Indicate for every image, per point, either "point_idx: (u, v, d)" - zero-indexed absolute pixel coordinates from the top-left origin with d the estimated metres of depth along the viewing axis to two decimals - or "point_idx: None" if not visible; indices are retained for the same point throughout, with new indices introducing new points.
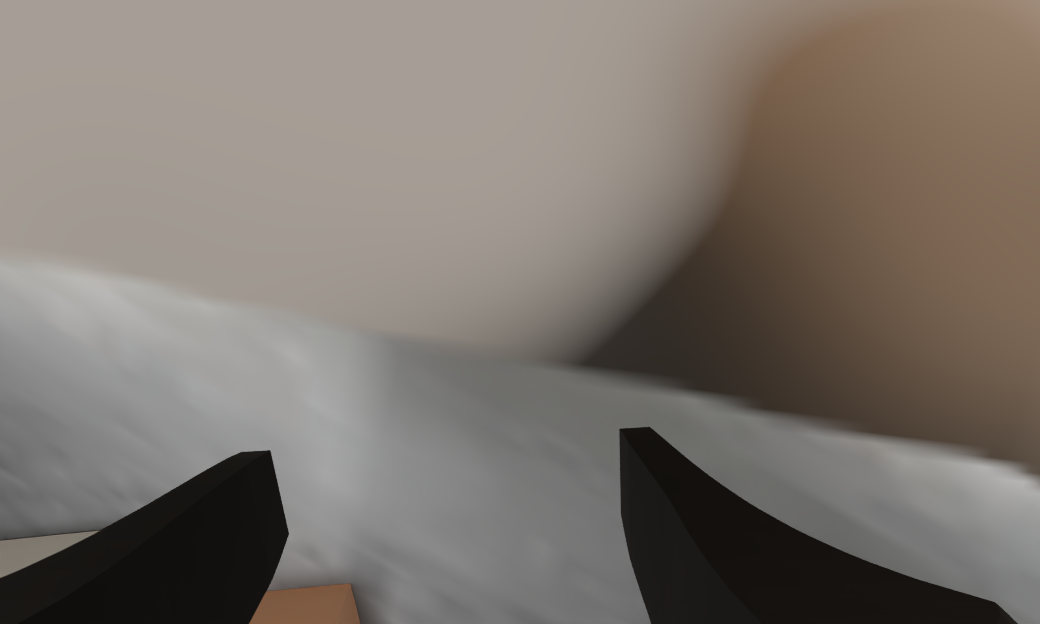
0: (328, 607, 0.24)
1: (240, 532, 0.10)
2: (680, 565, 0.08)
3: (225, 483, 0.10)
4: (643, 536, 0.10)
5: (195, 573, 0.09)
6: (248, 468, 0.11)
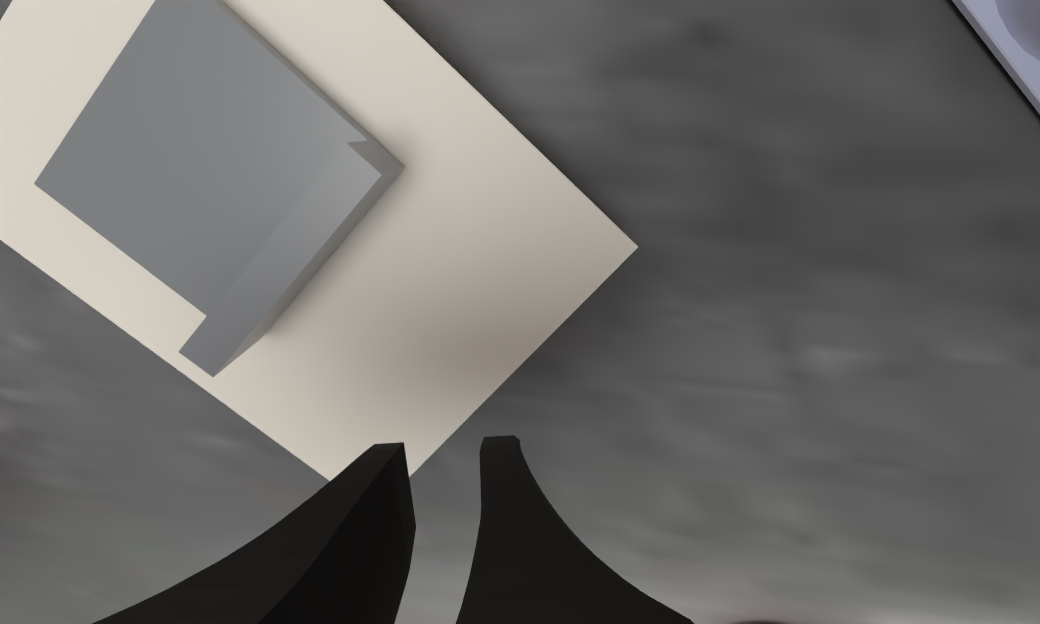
0: None
1: (390, 523, 0.10)
2: None
3: (380, 474, 0.10)
4: None
5: (365, 563, 0.09)
6: (393, 459, 0.11)
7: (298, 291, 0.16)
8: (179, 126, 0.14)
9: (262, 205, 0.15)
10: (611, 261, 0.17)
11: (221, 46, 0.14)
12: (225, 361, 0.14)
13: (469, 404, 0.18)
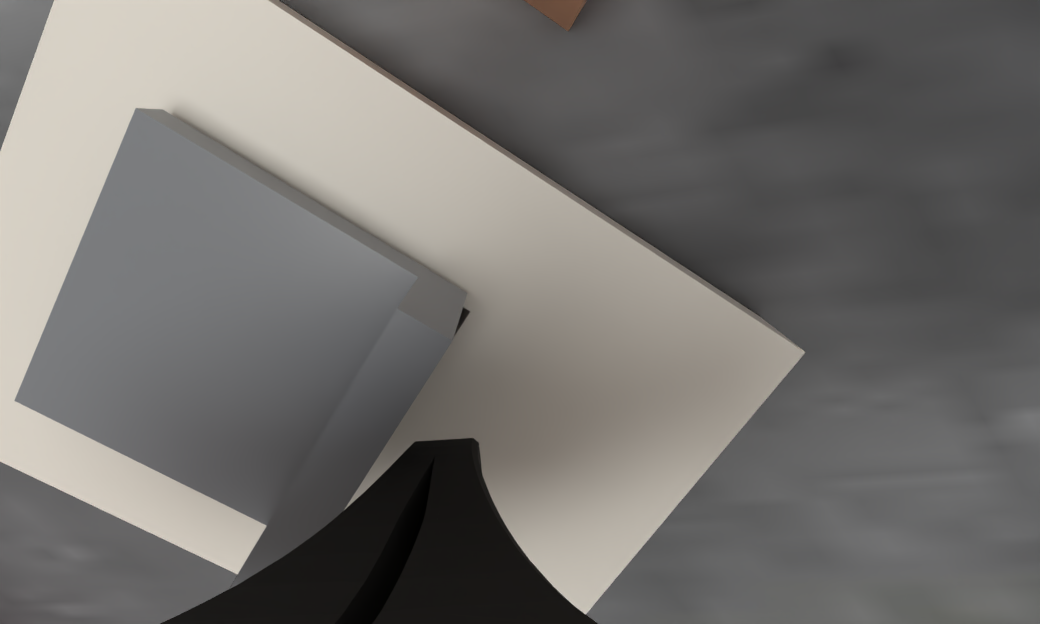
0: None
1: None
2: None
3: (428, 471, 0.10)
4: None
5: None
6: None
7: None
8: (176, 302, 0.11)
9: (296, 379, 0.12)
10: (771, 375, 0.13)
11: (211, 194, 0.11)
12: None
13: (610, 568, 0.14)
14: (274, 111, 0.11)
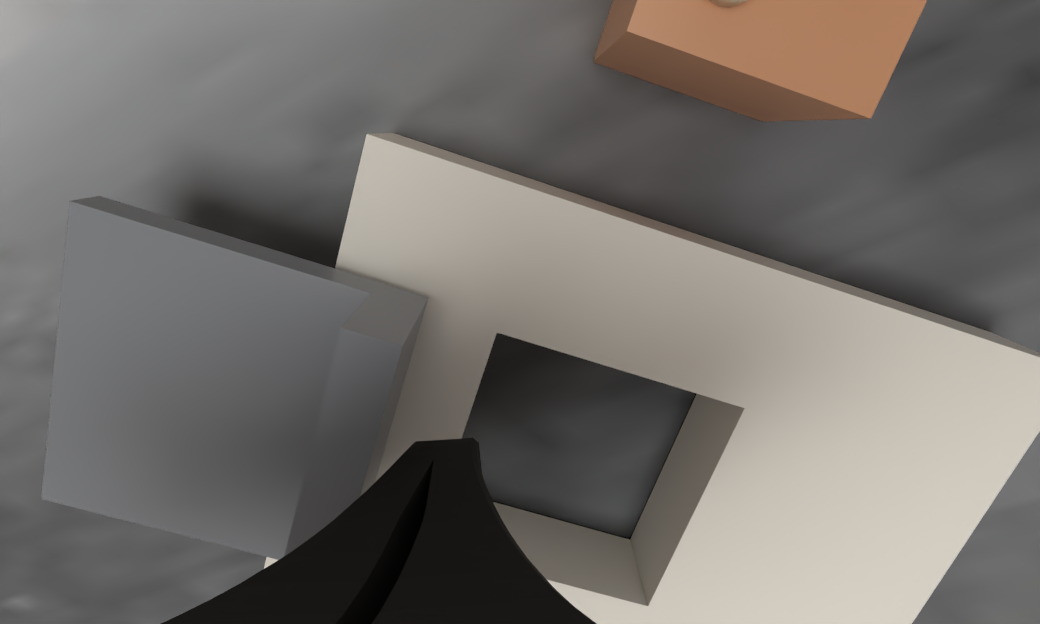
0: None
1: None
2: None
3: (428, 471, 0.10)
4: None
5: None
6: None
7: None
8: (157, 373, 0.12)
9: (286, 420, 0.12)
10: None
11: (158, 264, 0.11)
12: None
13: (910, 609, 0.15)
14: (544, 279, 0.12)
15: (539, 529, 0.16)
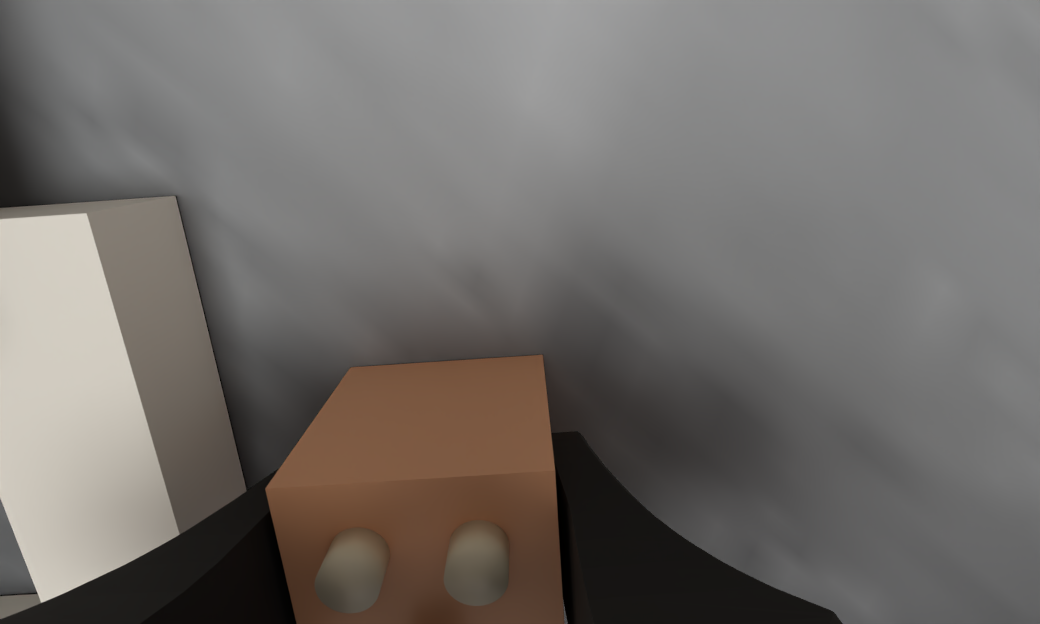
0: (516, 381, 0.11)
1: None
2: (575, 571, 0.08)
3: None
4: (560, 541, 0.10)
5: None
6: None
7: None
8: None
9: None
10: None
11: None
12: None
13: None
14: (62, 452, 0.10)
15: None
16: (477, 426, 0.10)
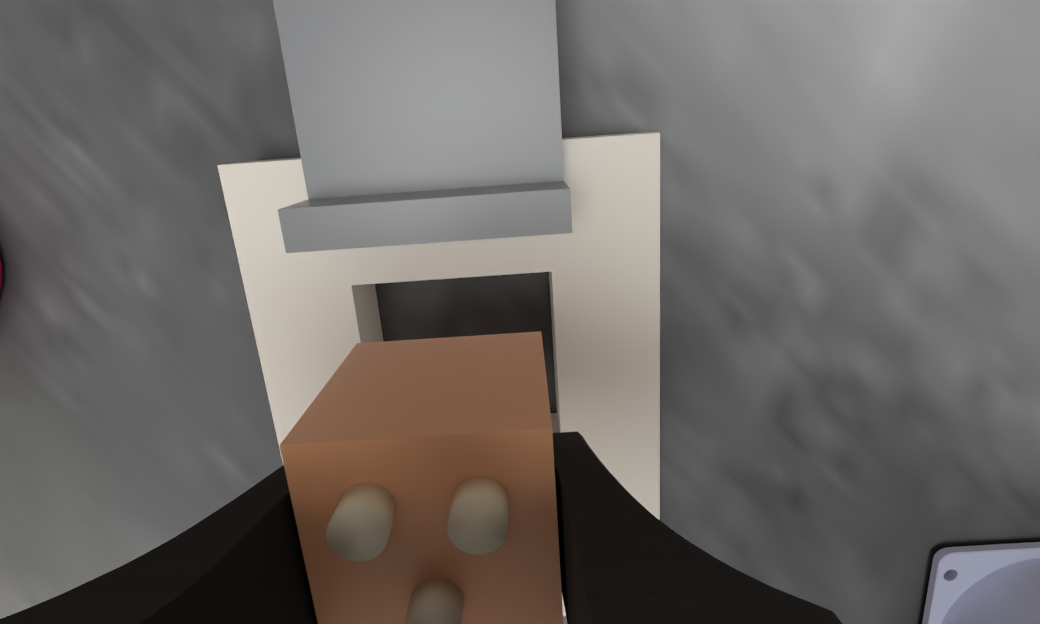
0: (516, 354, 0.12)
1: None
2: (574, 571, 0.08)
3: None
4: (560, 541, 0.10)
5: (284, 568, 0.09)
6: None
7: None
8: (434, 33, 0.14)
9: (437, 148, 0.15)
10: None
11: (527, 14, 0.14)
12: (309, 250, 0.13)
13: None
14: (602, 287, 0.17)
15: None
16: (479, 392, 0.10)
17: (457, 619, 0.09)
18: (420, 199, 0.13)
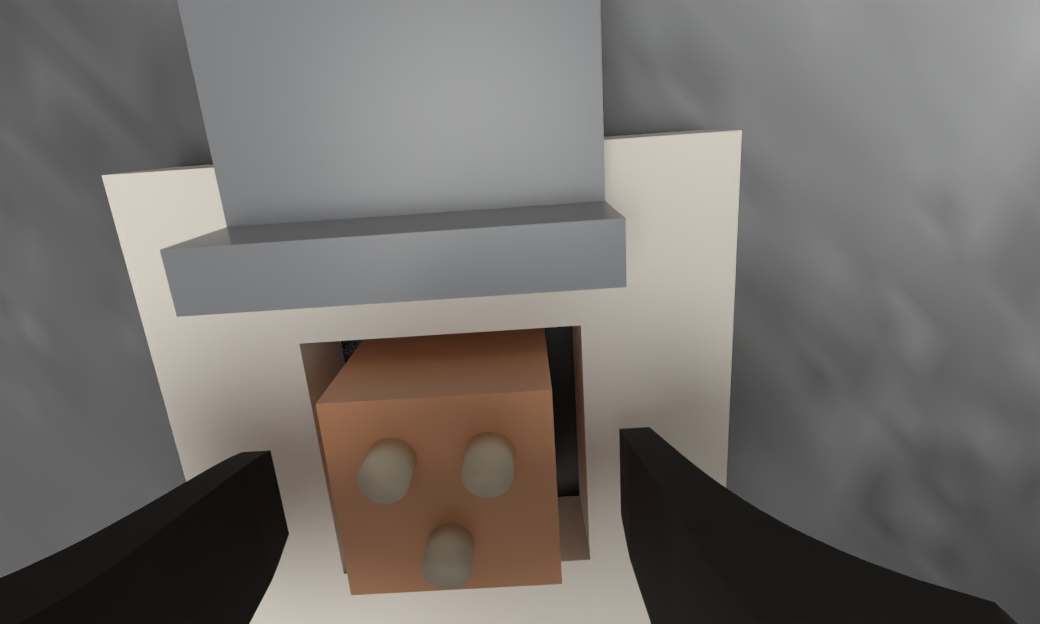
0: (520, 331, 0.13)
1: (240, 532, 0.10)
2: (679, 565, 0.08)
3: (225, 483, 0.10)
4: (643, 536, 0.10)
5: (195, 573, 0.09)
6: (248, 468, 0.11)
7: None
8: None
9: (417, 153, 0.10)
10: None
11: None
12: (213, 311, 0.09)
13: None
14: (651, 347, 0.12)
15: None
16: (487, 362, 0.12)
17: (468, 557, 0.11)
18: (386, 234, 0.08)
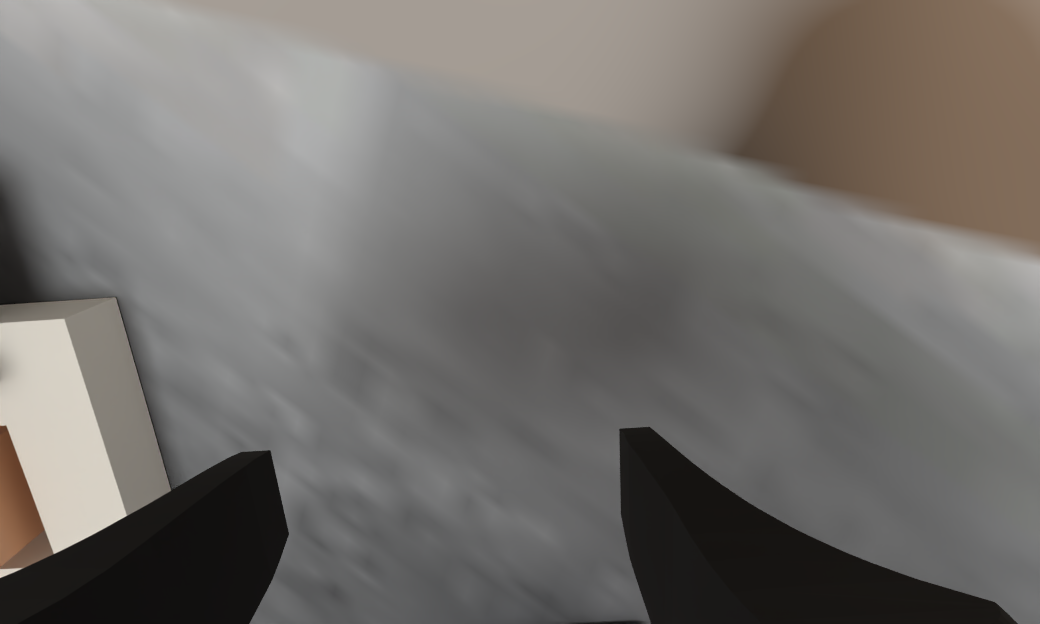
0: None
1: (240, 532, 0.10)
2: (680, 565, 0.08)
3: (225, 483, 0.10)
4: (643, 536, 0.10)
5: (195, 573, 0.09)
6: (248, 468, 0.11)
7: None
8: None
9: None
10: None
11: None
12: None
13: None
14: (52, 438, 0.20)
15: None
16: None
17: None
18: None
